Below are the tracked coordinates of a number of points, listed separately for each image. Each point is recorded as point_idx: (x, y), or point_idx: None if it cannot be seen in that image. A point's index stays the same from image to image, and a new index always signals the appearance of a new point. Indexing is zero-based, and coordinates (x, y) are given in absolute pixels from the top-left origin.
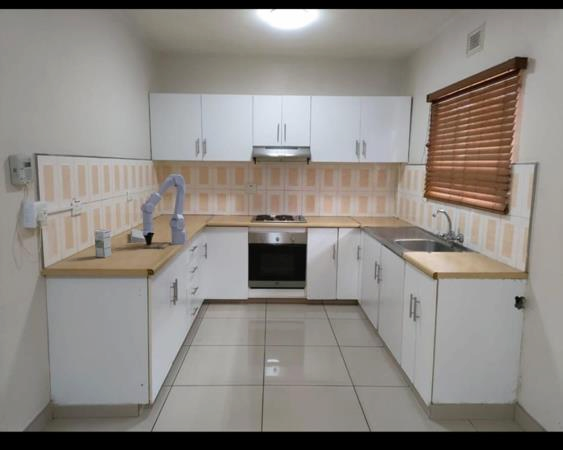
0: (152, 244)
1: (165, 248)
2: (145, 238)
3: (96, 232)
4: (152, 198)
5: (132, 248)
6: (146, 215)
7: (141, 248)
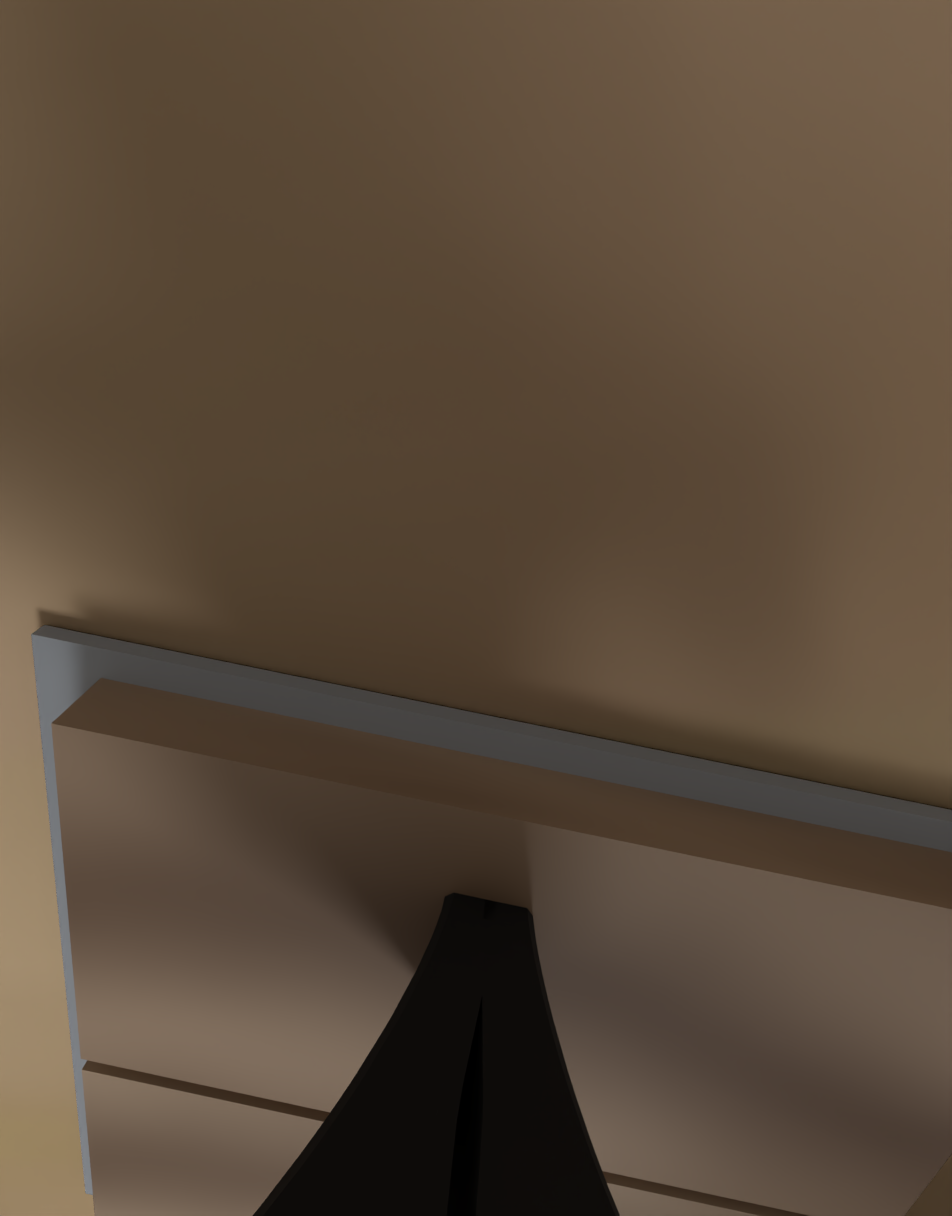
0: None
1: None
2: (285, 1196)
3: None
4: None
5: (268, 251)
6: None
7: (144, 671)
